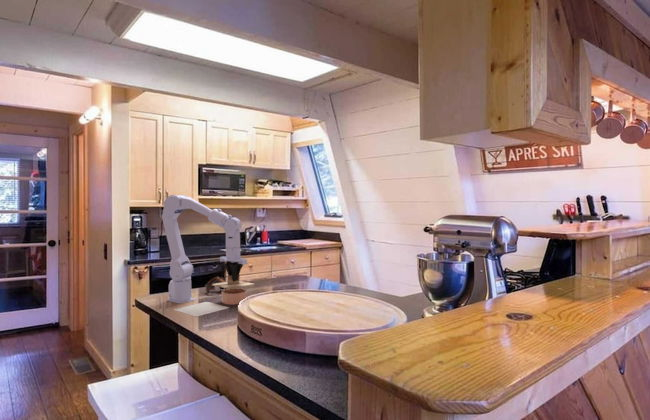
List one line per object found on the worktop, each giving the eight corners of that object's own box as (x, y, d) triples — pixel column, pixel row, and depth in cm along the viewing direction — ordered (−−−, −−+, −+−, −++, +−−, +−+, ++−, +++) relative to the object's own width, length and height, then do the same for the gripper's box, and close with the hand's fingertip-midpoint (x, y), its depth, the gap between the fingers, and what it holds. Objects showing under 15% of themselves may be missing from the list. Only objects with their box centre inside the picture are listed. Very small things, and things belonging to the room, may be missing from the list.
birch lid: (212, 285, 172) (212, 275, 172) (235, 281, 181) (235, 272, 181) (231, 289, 164) (231, 278, 164) (254, 285, 174) (254, 275, 174)
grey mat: (173, 310, 161) (173, 309, 161) (206, 302, 173) (206, 301, 173) (196, 317, 152) (196, 316, 152) (229, 308, 164) (229, 307, 164)
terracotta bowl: (217, 302, 173) (216, 291, 173) (236, 297, 180) (236, 287, 180) (232, 306, 166) (232, 295, 166) (252, 301, 174) (251, 290, 174)
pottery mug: (227, 296, 185) (217, 281, 183) (209, 305, 187) (199, 290, 185) (234, 283, 197) (225, 269, 195) (217, 292, 198) (208, 278, 196)
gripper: (213, 247, 174) (214, 280, 174) (237, 249, 165) (237, 284, 165) (227, 245, 179) (228, 277, 180) (250, 247, 170) (251, 281, 171)
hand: (233, 280), depth 173 cm, fingers closed on birch lid
